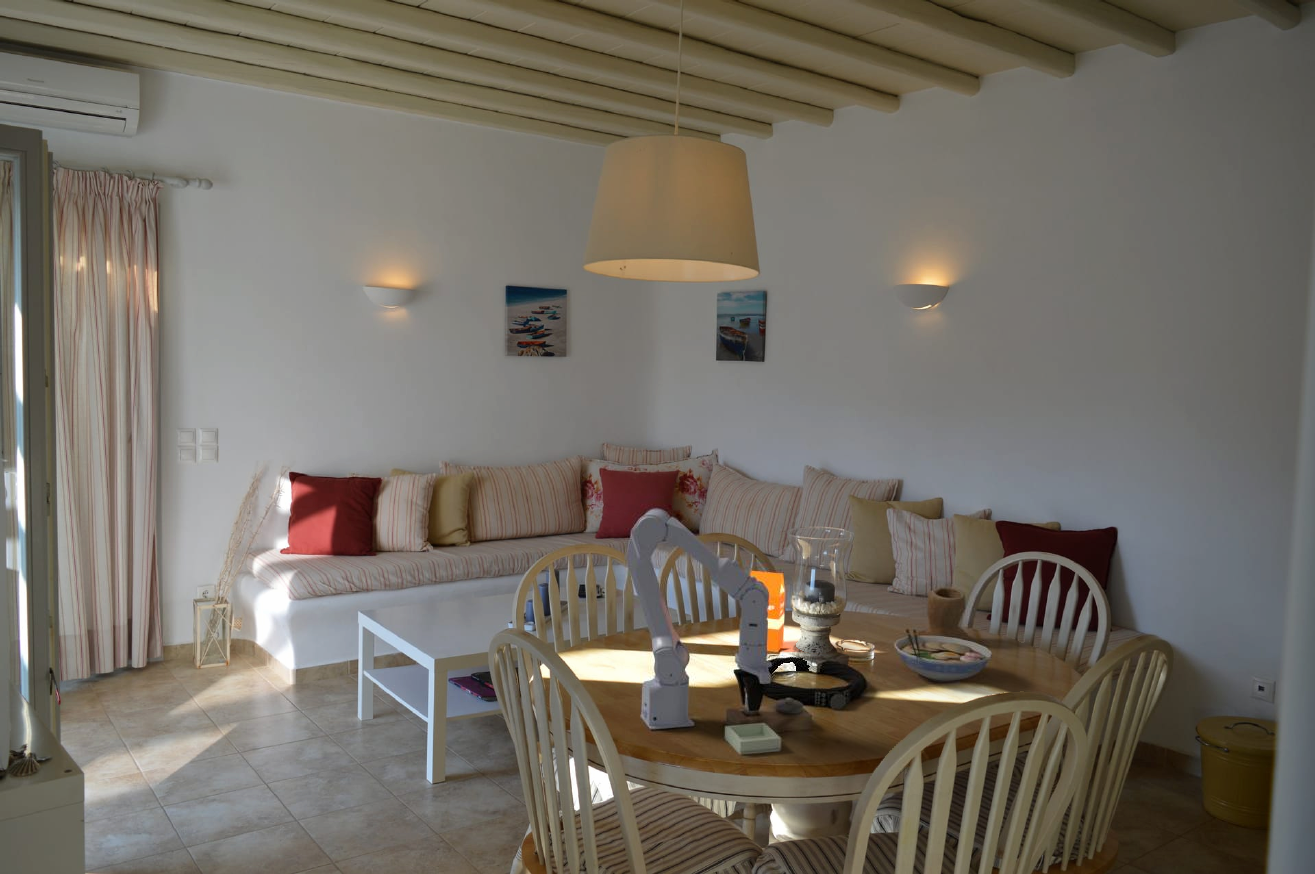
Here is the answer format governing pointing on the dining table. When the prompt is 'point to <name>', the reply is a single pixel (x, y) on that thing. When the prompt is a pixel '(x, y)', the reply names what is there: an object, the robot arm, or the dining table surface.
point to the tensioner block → (774, 716)
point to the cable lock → (819, 696)
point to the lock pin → (747, 712)
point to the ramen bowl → (942, 656)
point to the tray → (752, 738)
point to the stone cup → (945, 613)
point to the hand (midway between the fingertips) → (750, 707)
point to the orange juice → (774, 607)
